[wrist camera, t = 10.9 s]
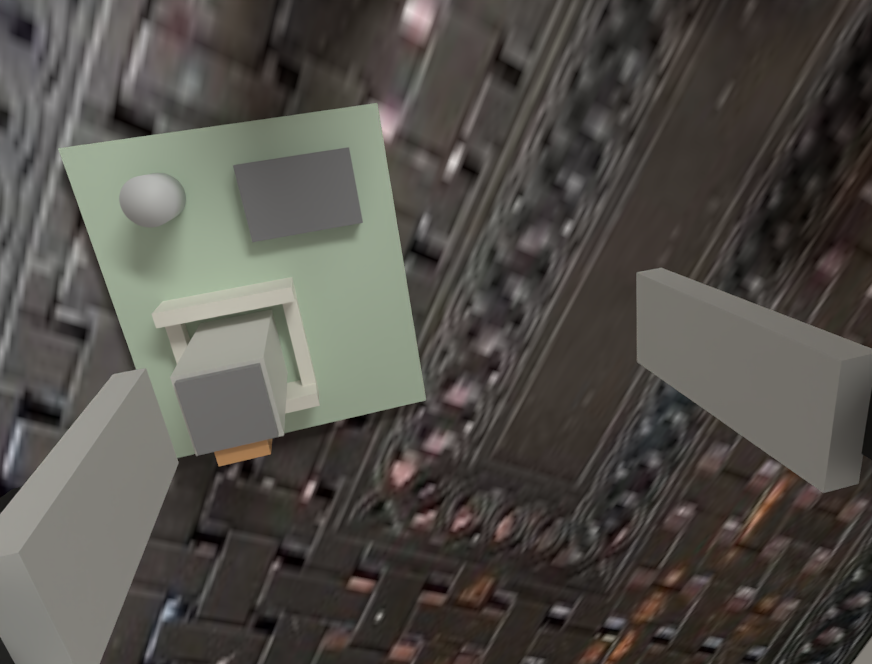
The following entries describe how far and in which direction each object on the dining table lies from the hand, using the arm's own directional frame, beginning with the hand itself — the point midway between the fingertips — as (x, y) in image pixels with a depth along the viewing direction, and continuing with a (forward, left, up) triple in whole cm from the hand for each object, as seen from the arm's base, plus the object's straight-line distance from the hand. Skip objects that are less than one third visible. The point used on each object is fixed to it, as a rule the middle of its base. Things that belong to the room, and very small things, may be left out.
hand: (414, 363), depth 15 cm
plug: (+5, -7, -19) cm, 21 cm away
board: (+2, -5, -20) cm, 21 cm away
